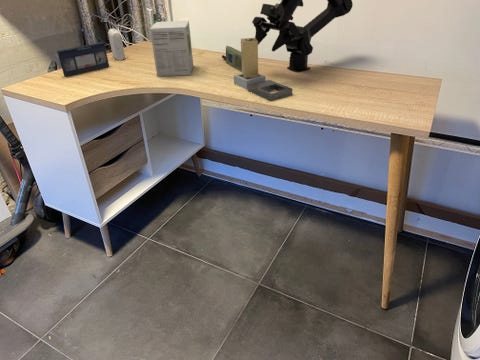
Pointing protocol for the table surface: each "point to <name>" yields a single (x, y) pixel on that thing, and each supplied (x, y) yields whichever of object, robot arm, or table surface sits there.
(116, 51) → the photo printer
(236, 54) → the handheld radio
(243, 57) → the brass tower with button
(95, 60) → the vhs cassette tape
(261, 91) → the grey holder tray
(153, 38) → the supplement box
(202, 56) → the table surface
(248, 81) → the parts tray
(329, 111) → the table surface
